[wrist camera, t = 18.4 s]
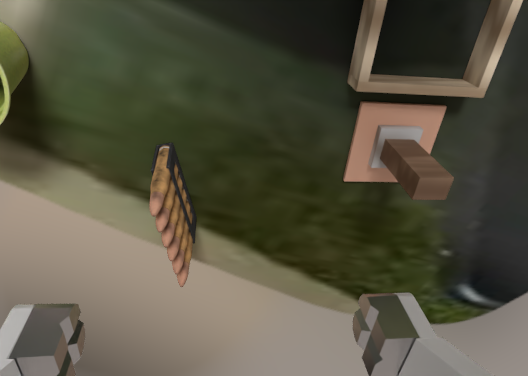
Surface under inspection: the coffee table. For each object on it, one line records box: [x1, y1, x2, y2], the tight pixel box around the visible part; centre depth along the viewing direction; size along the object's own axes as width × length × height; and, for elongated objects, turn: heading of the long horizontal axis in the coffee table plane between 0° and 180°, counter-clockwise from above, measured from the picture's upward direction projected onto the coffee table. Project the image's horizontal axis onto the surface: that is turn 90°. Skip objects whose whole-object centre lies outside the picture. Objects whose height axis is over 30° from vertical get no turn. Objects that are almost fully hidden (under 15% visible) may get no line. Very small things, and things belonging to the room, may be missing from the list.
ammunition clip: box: [150, 143, 196, 287], centre depth 40 cm, size 11×2×12 cm, turn 9°
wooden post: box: [368, 125, 454, 200], centre depth 41 cm, size 5×5×10 cm
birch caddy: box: [347, 0, 523, 98], centre depth 36 cm, size 14×14×3 cm
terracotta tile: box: [343, 101, 447, 182], centre depth 45 cm, size 10×10×1 cm
